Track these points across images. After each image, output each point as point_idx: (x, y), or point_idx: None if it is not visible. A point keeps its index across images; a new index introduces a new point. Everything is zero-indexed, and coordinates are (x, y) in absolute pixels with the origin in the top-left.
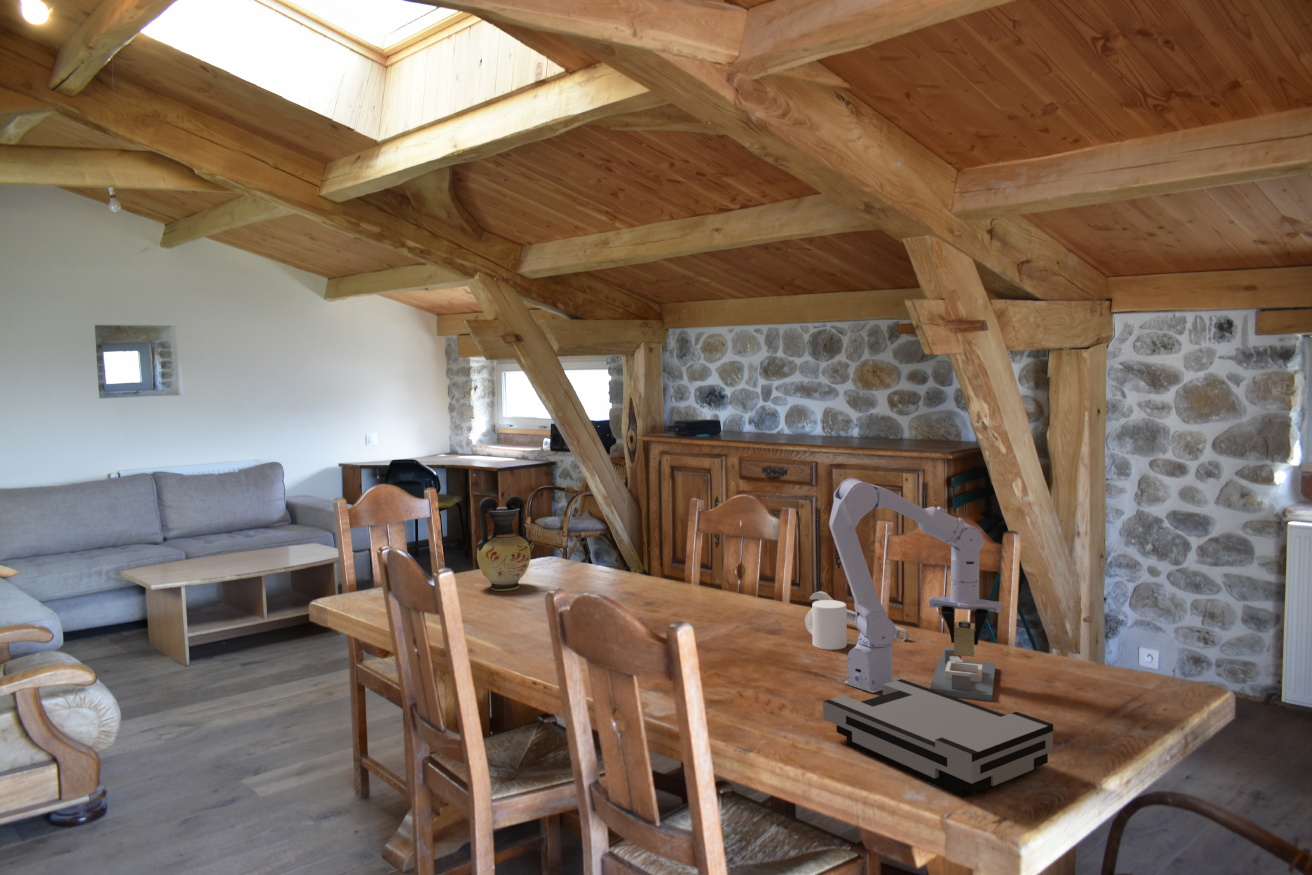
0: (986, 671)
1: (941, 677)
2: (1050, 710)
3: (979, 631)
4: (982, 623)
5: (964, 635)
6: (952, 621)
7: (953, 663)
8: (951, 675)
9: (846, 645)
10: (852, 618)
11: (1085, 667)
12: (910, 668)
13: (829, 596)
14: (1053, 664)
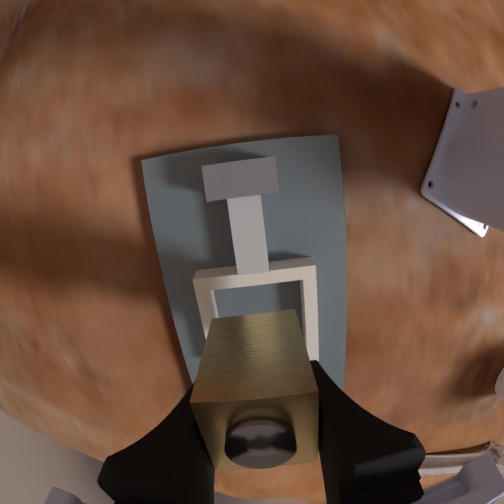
0: None
1: (322, 260)
2: (29, 174)
3: (174, 410)
4: (142, 440)
5: (250, 370)
6: (336, 427)
7: None
8: (291, 262)
9: (496, 381)
10: (472, 458)
11: (81, 442)
12: (404, 332)
13: (501, 471)
14: None
